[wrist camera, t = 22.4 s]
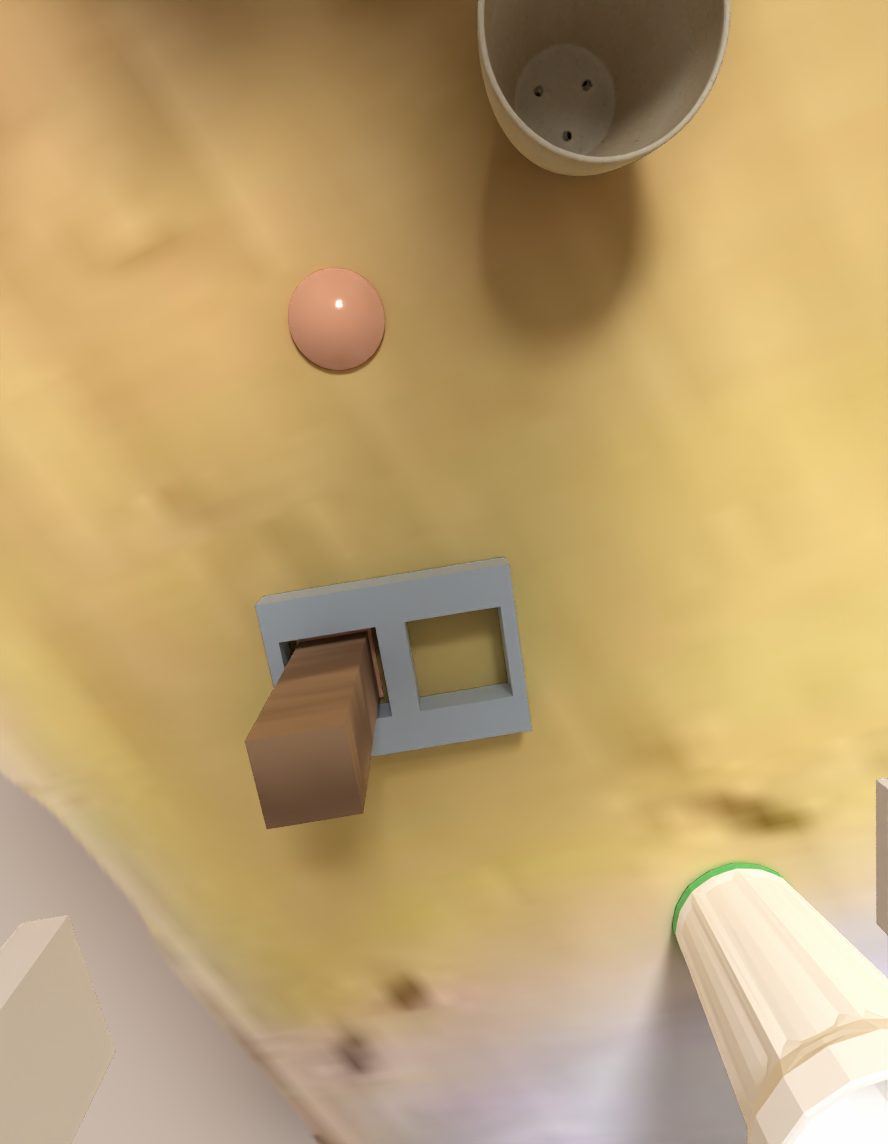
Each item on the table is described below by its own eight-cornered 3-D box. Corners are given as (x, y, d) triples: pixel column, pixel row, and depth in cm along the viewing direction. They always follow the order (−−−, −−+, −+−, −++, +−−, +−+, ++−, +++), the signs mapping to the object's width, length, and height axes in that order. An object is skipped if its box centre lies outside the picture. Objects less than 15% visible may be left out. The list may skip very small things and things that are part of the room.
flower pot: (500, 247, 33) (523, 198, 26) (435, 34, 31) (441, -82, 24) (684, 179, 32) (757, 110, 25) (632, -41, 30) (697, -183, 23)
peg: (299, 642, 37) (245, 741, 25) (367, 631, 37) (344, 724, 25) (313, 705, 38) (267, 829, 26) (379, 694, 38) (363, 813, 26)
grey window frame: (263, 596, 36) (254, 605, 34) (504, 556, 36) (509, 564, 34) (299, 752, 38) (293, 769, 36) (526, 715, 39) (532, 730, 37)
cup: (852, 855, 42) (1095, 1090, 27) (785, 1006, 44) (972, 1299, 29) (677, 817, 41) (830, 1042, 26) (618, 975, 43) (725, 1264, 28)
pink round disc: (279, 276, 33) (279, 275, 32) (375, 261, 33) (375, 260, 32) (299, 376, 34) (299, 376, 33) (392, 362, 34) (392, 361, 34)
